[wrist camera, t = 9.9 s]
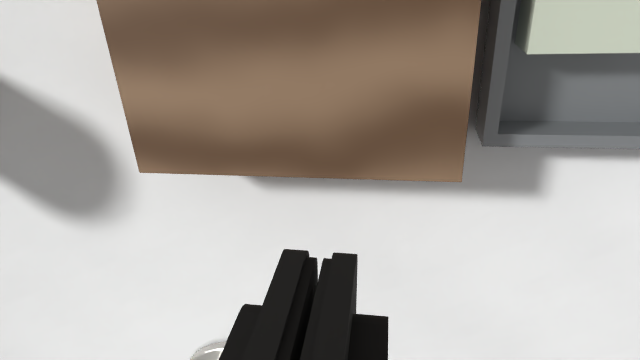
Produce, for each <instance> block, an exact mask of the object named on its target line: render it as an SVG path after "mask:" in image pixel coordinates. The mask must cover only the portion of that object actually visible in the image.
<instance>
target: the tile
mask: <svg viewBox="0 0 640 360" xmlns="http://www.w3.org/2000/svg"><path fill="white" fill-rule="evenodd" d="M515 44H516V45H517V46H518V47H519V48H520V49H522V50H523V51H524V52H525V53H526V54H587V53H640V0H521V4H520V11H519V18H518V25H517V32H516V39H515Z"/></svg>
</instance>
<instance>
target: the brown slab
mask: <svg viewBox="0 0 640 360" xmlns="http://www.w3.org/2000/svg"><path fill="white" fill-rule="evenodd" d="M97 4H98V8H99V12H100V16H101V20H102V24H103V28H104V32H105V36H106V40H107V44H108V48H109V52H110V56H111V60H112V64H113V68H114V72H115V76H116V80H117V84H118V88H119V92H120V96H121V100H122V104H123V108H124V112H125V116H126V120H127V124H128V128H129V132H130V136H131V140H132V144H133V148H134V152H135V156H136V160H137V164H138V168H139V172H140V173H170V174H204V175H238V176H272V177H305V178H339V179H373V180H407V181H440V182H462V173H463V164H464V155H465V146H466V136H467V127H468V118H469V109H470V100H471V90H472V81H473V72H474V63H475V54H476V45H477V35H478V26H479V17H480V8H481V0H97Z"/></svg>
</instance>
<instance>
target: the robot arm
mask: <svg viewBox="0 0 640 360" xmlns="http://www.w3.org/2000/svg"><path fill="white" fill-rule="evenodd" d="M356 293H357V254H346V253H333V256H332V259H326V258H324V259H323V262H322V267H321V271H320V275H319V279H318V269H317V258H313V257H309V252H308V251H304V250H290V249H284V250H283V252H282V255H281V257H280V260H279V263H278V265H277V268H276V271H275V273H274V276H273V279H272V281H271V284H270V287H269V289H268V292H267V295H266V297H265V300H264V303H263V305H262V306H261V305H250V304H245V305H243V306H242V308H241V310H240V312H239V314H238V316H237V319H236V321H235V323H234V326H233V328H232V330H231V332H230V335H229V337H228V339H227V342H219V343H214V344H210V345H208V346H205V347H203V348H201V349H200V350H198V351H197V352H196V353H195V354H194V355H193V356H192V357H191V358H190V360H388V317H385V316H374V315H363V314H356Z"/></svg>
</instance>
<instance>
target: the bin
mask: <svg viewBox="0 0 640 360" xmlns="http://www.w3.org/2000/svg"><path fill="white" fill-rule="evenodd" d="M520 4H521V0H490V7H489V16H488V24H487V33H486V41H485V50H484V58H483V67H482V75H481V84H480V92H479V101H478V109H477V118H476V126H475V130H476V132H477V134H478V137H479V139H480V142H481V144H482V146H500V147H556V148H613V149H640V53H587V54H526V53H525V52H524V51H523V50H522V49H520V48H519V47H518V46H517V45H516V44H515V39H516V32H517V25H518V18H519V11H520Z"/></svg>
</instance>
